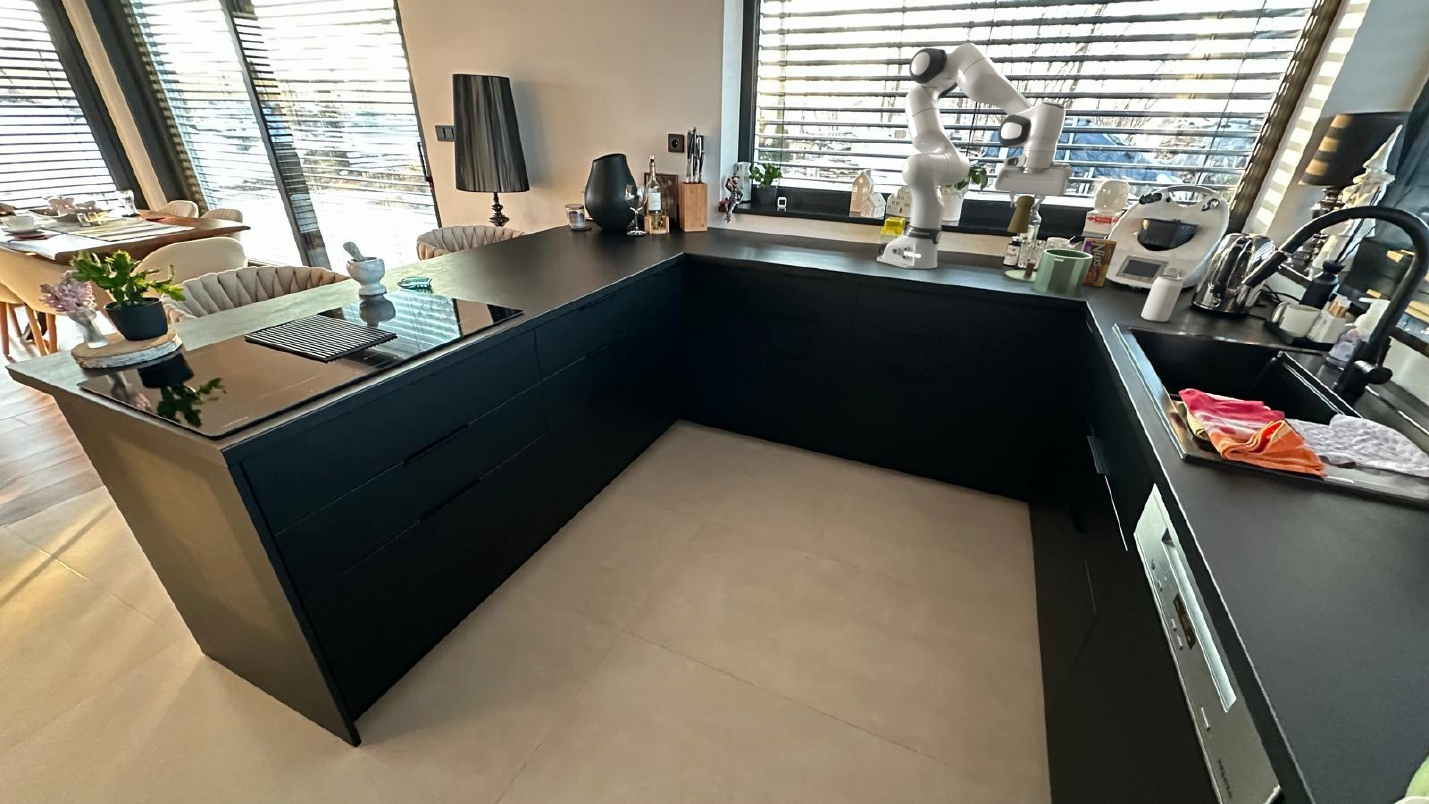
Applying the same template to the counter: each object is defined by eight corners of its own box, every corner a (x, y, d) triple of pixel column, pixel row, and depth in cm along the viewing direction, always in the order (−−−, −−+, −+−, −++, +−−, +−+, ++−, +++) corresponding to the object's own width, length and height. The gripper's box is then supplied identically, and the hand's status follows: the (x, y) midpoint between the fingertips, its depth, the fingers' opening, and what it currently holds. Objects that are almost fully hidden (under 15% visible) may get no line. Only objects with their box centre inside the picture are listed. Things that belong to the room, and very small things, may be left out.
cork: (1023, 230, 182) (1033, 194, 177) (1030, 233, 177) (1041, 197, 172) (1004, 229, 183) (1013, 194, 178) (1011, 232, 178) (1021, 196, 172)
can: (1157, 315, 162) (1173, 274, 156) (1173, 322, 156) (1191, 280, 151) (1135, 314, 162) (1151, 274, 156) (1150, 322, 156) (1167, 280, 150)
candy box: (1100, 285, 190) (1116, 239, 183) (1102, 288, 187) (1118, 242, 180) (1070, 281, 194) (1085, 236, 187) (1071, 284, 190) (1086, 239, 183)
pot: (1024, 293, 179) (1035, 254, 174) (1041, 282, 192) (1052, 245, 186) (1071, 302, 171) (1084, 262, 165) (1086, 290, 184) (1099, 252, 178)
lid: (998, 278, 195) (1002, 262, 193) (1012, 271, 205) (1016, 255, 202) (1043, 286, 187) (1048, 270, 184) (1055, 279, 196) (1060, 262, 194)
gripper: (1077, 163, 166) (1062, 211, 173) (1005, 158, 178) (994, 203, 185) (1071, 164, 162) (1056, 213, 168) (999, 159, 174) (987, 205, 181)
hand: (1023, 208), depth 177 cm, fingers closed on cork, 5 cm apart
